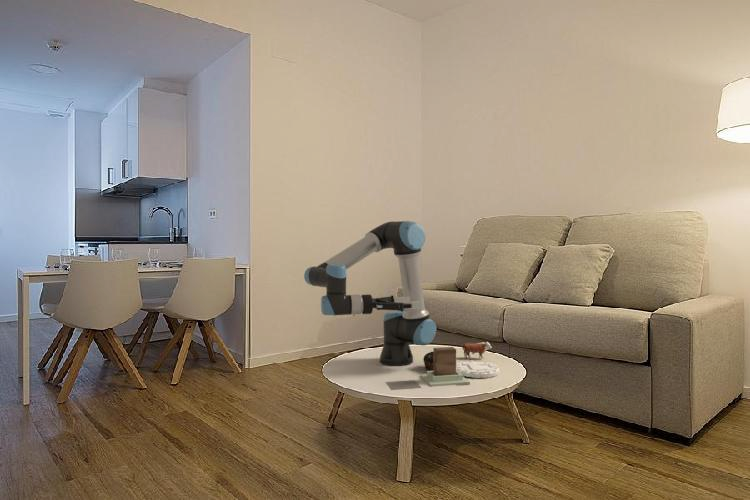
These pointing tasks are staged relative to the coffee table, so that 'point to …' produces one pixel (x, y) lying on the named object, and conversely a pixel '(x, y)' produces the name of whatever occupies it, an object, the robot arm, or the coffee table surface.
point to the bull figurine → (475, 349)
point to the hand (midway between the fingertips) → (414, 302)
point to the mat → (403, 385)
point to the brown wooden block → (444, 361)
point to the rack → (444, 379)
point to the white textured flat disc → (477, 369)
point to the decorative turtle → (429, 361)
